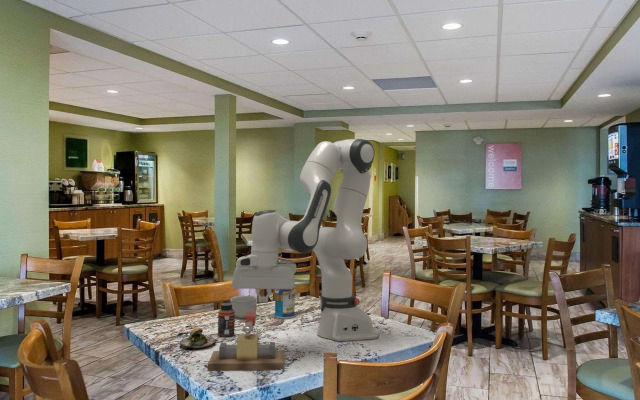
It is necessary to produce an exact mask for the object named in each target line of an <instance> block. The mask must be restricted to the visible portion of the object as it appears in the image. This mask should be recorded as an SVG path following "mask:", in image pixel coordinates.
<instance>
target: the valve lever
mask: <svg viewBox="0 0 640 400" xmlns="http://www.w3.org/2000/svg"><path fill="white" fill-rule="evenodd" d="M244 319H245V321H244V323H245V324H244V325H242V332H244V333H246V332H250V333H252V332H254V327H255V325H256V321H257V311H256V312H247V313H246V316H245V318H244Z"/></svg>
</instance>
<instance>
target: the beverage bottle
mask: <svg viewBox="0 0 640 400" xmlns="http://www.w3.org/2000/svg"><path fill="white" fill-rule="evenodd" d="M295 297H296V289H295V287H294V288H293V289H274V305H275V306H274V317H275V318H277V319H282V320H284V319H285V320H287V319H293V318H294V317H295V315H296V313H295V310H296V309H295V304H296V303H295V300H296V299H295Z"/></svg>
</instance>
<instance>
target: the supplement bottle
mask: <svg viewBox="0 0 640 400" xmlns="http://www.w3.org/2000/svg"><path fill="white" fill-rule="evenodd" d="M217 315H218V316H217V322H218V323H217V335H218V336H219V337H223V338H228V337H229V338H230V337H233V336H235V331H236V330H235V326H236V325H235V323H236V316H235V311H234V310H233V309H232V304H231V302H223V303H221V304H220V309H219V310H218V314H217Z"/></svg>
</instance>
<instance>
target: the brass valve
mask: <svg viewBox="0 0 640 400" xmlns="http://www.w3.org/2000/svg"><path fill="white" fill-rule="evenodd" d="M218 347H219V350H218V351H219V359H237V360H257V358H269V359H275V350H276V342H274V341H271V342H269V344H265V343H264V344H259V333H252V334H251V332H245V333H243V334H242V333H241V334H238V336H237V337H236V344H227V342H221V343H220V345H219V346H218Z"/></svg>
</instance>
